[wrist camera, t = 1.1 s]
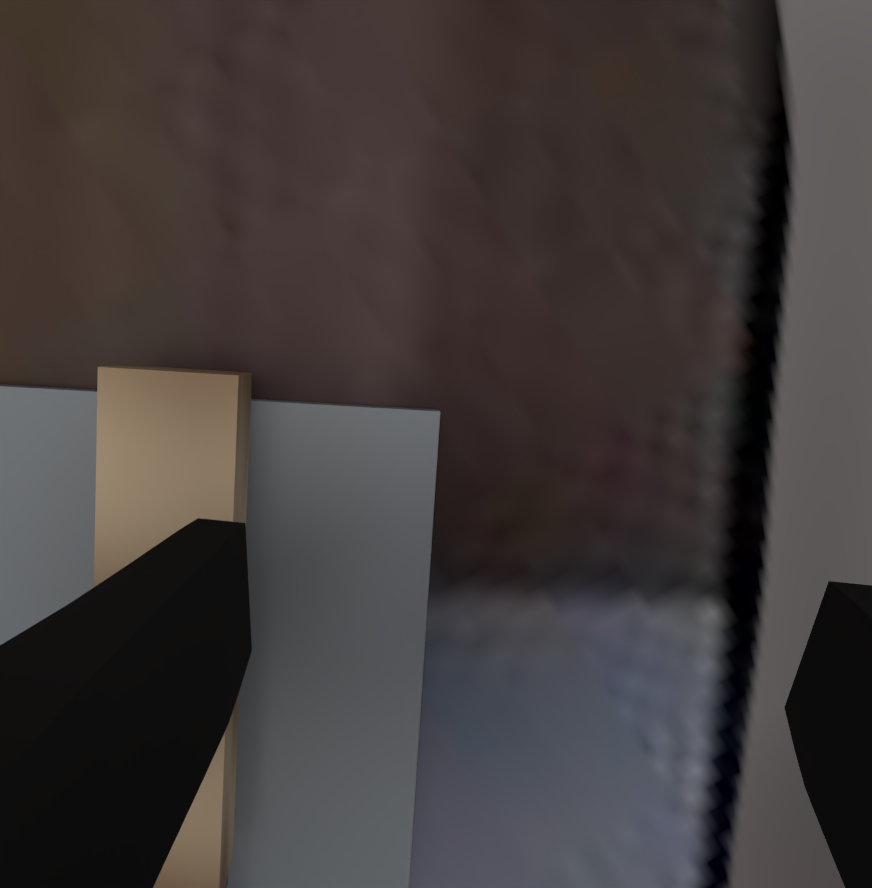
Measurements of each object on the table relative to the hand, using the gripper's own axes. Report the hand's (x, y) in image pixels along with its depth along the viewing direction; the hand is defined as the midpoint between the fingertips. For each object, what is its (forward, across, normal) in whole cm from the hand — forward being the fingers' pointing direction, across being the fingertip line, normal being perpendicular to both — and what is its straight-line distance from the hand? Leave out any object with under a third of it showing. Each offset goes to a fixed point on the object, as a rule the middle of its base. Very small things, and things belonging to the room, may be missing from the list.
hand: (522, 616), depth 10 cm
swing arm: (+8, +8, +9) cm, 14 cm away
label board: (+9, +8, +10) cm, 16 cm away
